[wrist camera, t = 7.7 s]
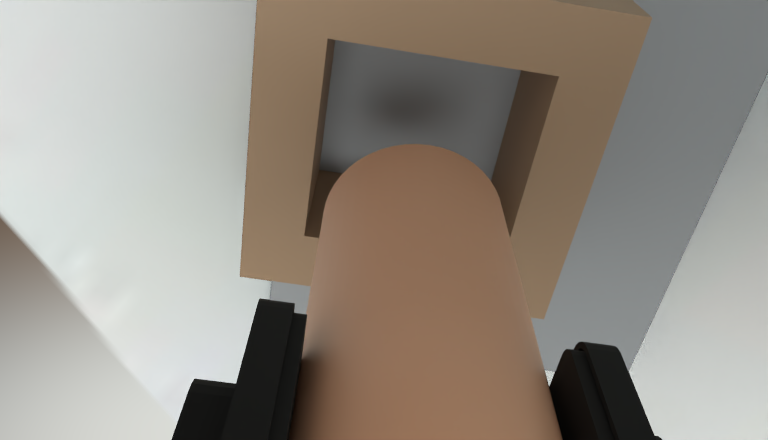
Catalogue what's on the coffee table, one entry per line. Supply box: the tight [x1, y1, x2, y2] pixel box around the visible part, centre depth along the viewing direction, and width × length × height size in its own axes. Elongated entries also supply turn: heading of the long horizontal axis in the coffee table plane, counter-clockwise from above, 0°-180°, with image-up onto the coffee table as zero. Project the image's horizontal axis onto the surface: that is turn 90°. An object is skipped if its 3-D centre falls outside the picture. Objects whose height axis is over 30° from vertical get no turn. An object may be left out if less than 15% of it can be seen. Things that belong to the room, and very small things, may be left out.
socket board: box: [240, 0, 768, 372], centre depth 21 cm, size 14×16×5 cm
